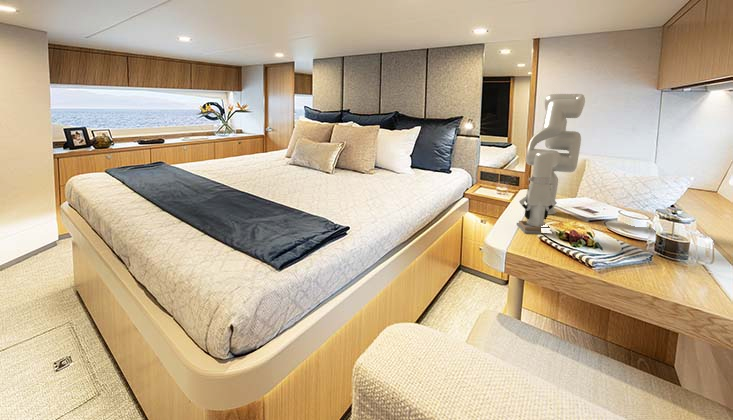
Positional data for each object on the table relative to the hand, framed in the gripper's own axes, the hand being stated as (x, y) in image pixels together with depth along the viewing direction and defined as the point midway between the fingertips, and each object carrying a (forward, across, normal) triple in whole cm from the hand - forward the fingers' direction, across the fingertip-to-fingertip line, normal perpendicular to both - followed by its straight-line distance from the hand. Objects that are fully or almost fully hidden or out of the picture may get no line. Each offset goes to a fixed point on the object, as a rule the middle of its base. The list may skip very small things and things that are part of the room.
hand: (535, 218), depth 166 cm
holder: (+5, 0, 0) cm, 5 cm away
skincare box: (+4, 0, 0) cm, 4 cm away
